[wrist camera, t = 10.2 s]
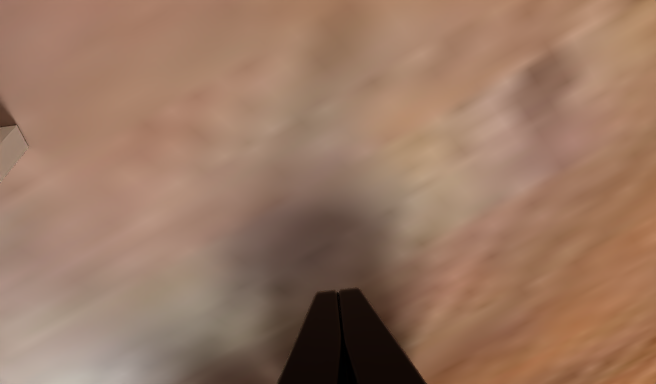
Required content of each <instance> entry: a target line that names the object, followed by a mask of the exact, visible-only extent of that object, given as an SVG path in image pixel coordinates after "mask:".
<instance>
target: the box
mask: <svg viewBox="0 0 656 384" xmlns="http://www.w3.org/2000/svg"><path fill="white" fill-rule="evenodd" d="M28 148H29V147H28V145H27V143H26V141H25V139H24V138H23V136H22V134H21V132H20V130H19V128H18V126H17V125H14V126H7V127H0V183H1V182H2V181H3V179H4V178H5V177H6V176H7V174H8V173H9V172H10V171H11V169H12V168H13V167H14V166H15V164H16V163H17V162H18V161H19V159H20V158H21V157H22V156H23V154H24V153H25V152H26V151H27V149H28Z"/></svg>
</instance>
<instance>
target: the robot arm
mask: <svg viewBox="0 0 656 384" xmlns="http://www.w3.org/2000/svg"><path fill="white" fill-rule="evenodd" d="M338 297H339V299H338ZM339 306H340V308H339ZM340 316H341V317H340ZM342 335H343V336H342ZM343 344H344V345H343ZM344 354H345V355H344ZM345 363H346V364H345ZM346 372H347V374H346ZM347 381H348V383H347ZM277 384H427V383H426V382H425V380H424V379H423V378H422V376H421V375H420V373H419V372H418V370H417V369H416V368H415V366H414V365H413V363H412V362H411V360H410V359H409V358H408V356H407V355H406V353H405V352H404V350H403V349H402V348H401V346H400V345H399V343H398V342H397V341H396V339H395V338H394V336H393V335H392V333H391V332H390V331H389V329H388V328H387V326H386V325H385V323H384V322H383V321H382V319H381V318H380V316H379V315H378V314H377V312H376V311H375V309H374V308H373V306H372V305H371V304H370V302H369V301H368V299H367V298H366V296H365V295H364V294H363V292H362V291H361V290H360V289H359V288H347V289H340V290H339V292H337V291H336V290H329V291H319V292H317V293H316V294H315V296H314V298H313V300H312V303H311V305H310V307H309V310H308V312H307V314H306V317H305V319H304V321H303V324H302V326H301V328H300V331H299V333H298V335H297V338H296V340H295V342H294V345H293V347H292V349H291V352H290V354H289V356H288V359H287V361H286V363H285V365H284V368H283V370H282V372H281V375H280V377H279V379H278V382H277Z"/></svg>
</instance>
